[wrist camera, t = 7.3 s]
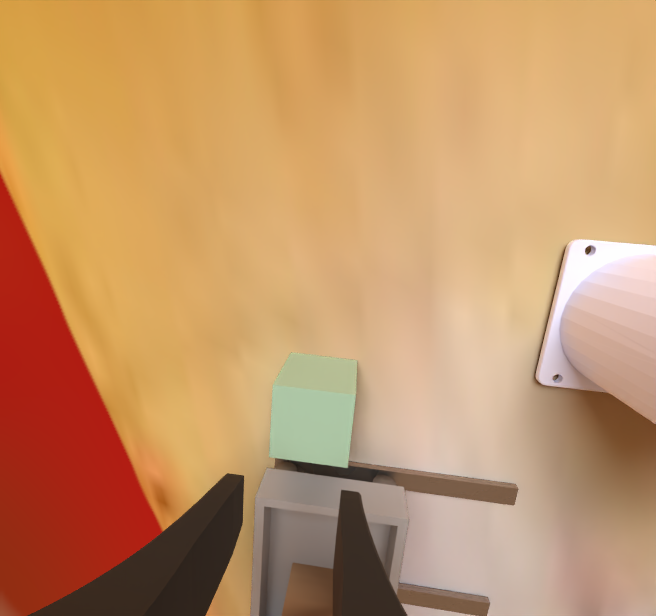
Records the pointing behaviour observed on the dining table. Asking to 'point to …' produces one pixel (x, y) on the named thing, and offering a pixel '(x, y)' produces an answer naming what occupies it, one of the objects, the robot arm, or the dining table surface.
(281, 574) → the grey shallow tray
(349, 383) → the green block
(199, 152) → the dining table surface
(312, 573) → the copper block
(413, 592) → the rails
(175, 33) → the dining table surface
